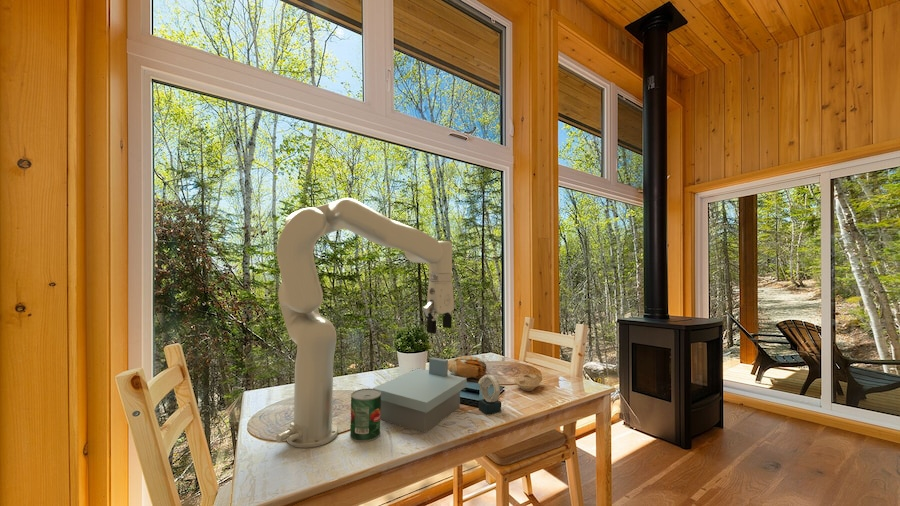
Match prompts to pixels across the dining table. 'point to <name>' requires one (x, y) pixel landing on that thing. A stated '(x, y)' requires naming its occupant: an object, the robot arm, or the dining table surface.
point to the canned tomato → (365, 415)
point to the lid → (423, 387)
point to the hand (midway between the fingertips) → (439, 330)
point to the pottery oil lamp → (528, 381)
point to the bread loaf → (467, 367)
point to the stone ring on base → (489, 403)
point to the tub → (419, 414)
